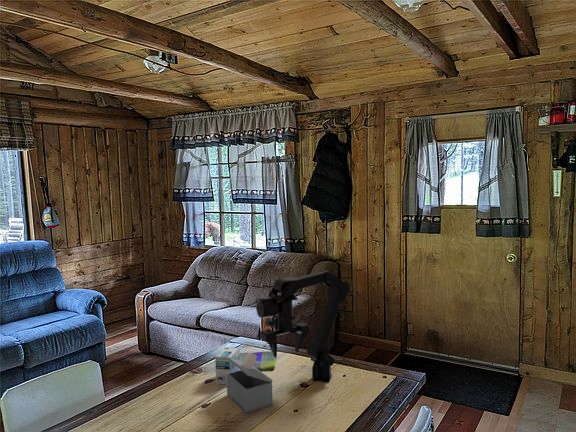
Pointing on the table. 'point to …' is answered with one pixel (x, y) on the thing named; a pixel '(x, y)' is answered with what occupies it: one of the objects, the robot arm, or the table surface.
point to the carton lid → (250, 367)
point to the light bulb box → (226, 363)
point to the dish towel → (262, 360)
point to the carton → (249, 391)
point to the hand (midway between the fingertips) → (286, 354)
